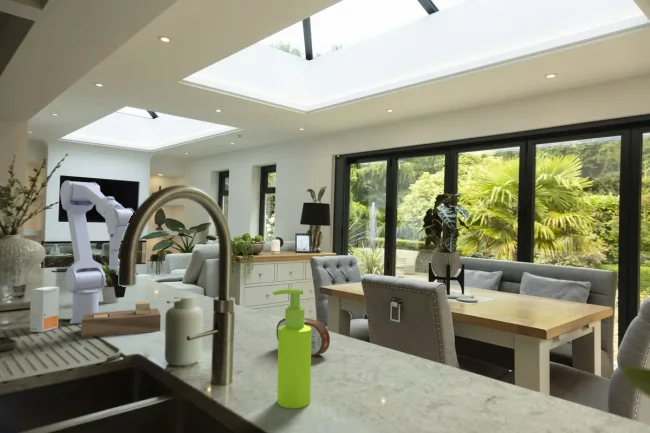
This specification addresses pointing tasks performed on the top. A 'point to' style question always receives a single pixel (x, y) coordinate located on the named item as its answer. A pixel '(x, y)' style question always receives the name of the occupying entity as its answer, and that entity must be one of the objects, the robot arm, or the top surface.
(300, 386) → the soap dispenser
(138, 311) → the far maple peg
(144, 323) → the walnut block
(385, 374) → the top surface
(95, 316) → the near maple peg
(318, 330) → the tin
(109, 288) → the house plant
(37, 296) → the skincare box
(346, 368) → the top surface
